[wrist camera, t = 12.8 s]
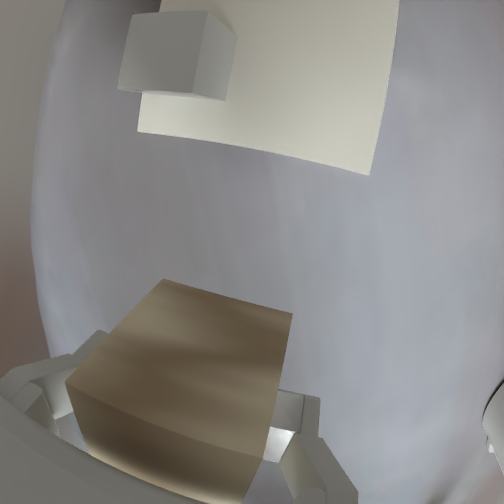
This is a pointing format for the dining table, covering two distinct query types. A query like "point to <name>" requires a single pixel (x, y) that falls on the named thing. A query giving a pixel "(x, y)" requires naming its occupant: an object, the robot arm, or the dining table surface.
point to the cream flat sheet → (292, 80)
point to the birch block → (184, 391)
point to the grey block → (178, 55)
